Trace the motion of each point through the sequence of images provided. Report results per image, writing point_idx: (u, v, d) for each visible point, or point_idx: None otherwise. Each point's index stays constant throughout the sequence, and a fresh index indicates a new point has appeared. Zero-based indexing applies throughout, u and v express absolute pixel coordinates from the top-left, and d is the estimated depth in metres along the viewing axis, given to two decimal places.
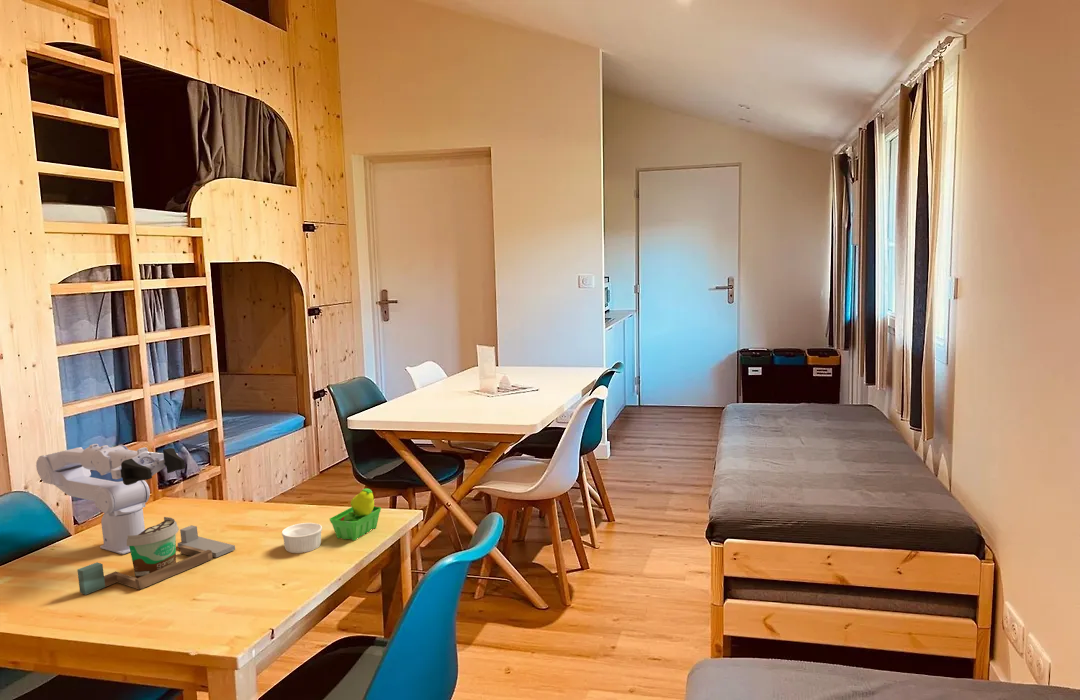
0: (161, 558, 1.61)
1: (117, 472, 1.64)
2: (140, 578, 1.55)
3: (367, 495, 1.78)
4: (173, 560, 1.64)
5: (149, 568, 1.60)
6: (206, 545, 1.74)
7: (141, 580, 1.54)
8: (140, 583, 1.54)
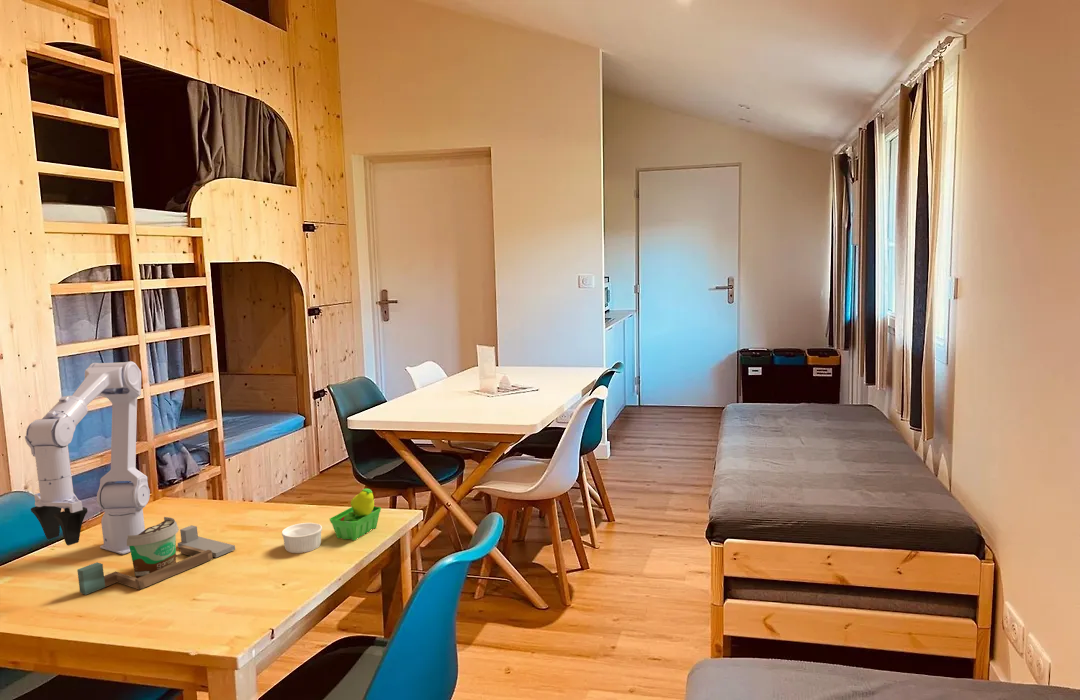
0: (161, 558, 1.61)
1: None
2: (140, 578, 1.55)
3: (367, 495, 1.78)
4: (173, 560, 1.64)
5: (149, 568, 1.60)
6: (206, 545, 1.74)
7: (141, 580, 1.54)
8: (140, 583, 1.54)
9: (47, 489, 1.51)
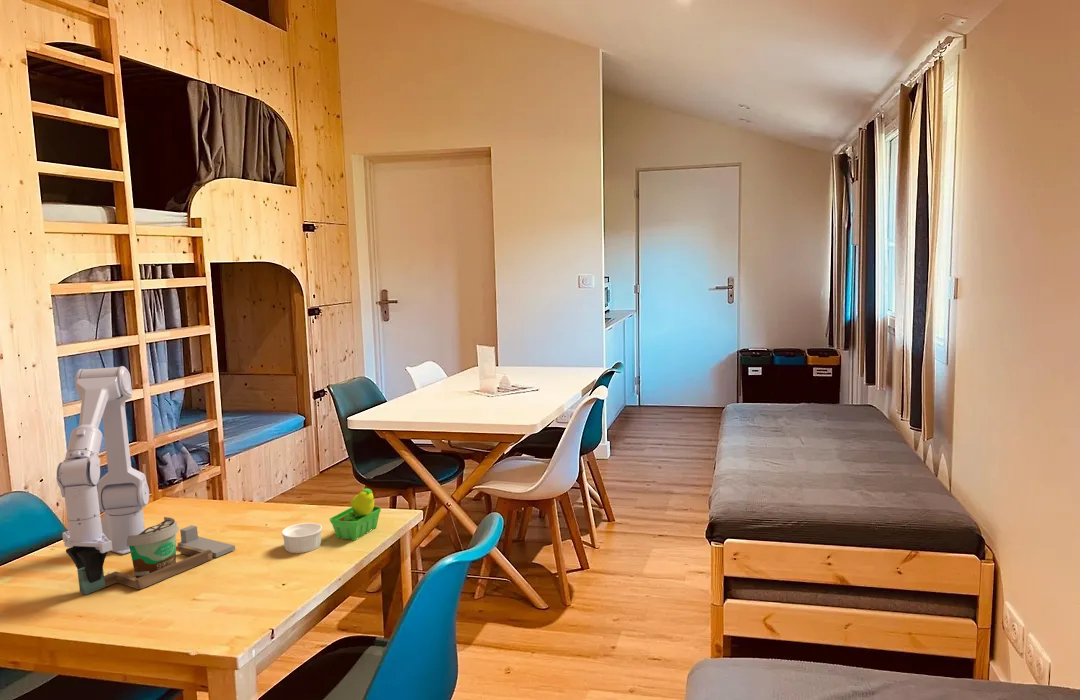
0: (161, 558, 1.61)
1: None
2: (140, 578, 1.55)
3: (367, 495, 1.78)
4: (173, 560, 1.64)
5: (149, 568, 1.60)
6: (206, 545, 1.74)
7: (141, 580, 1.54)
8: (140, 583, 1.54)
9: (77, 529, 1.50)
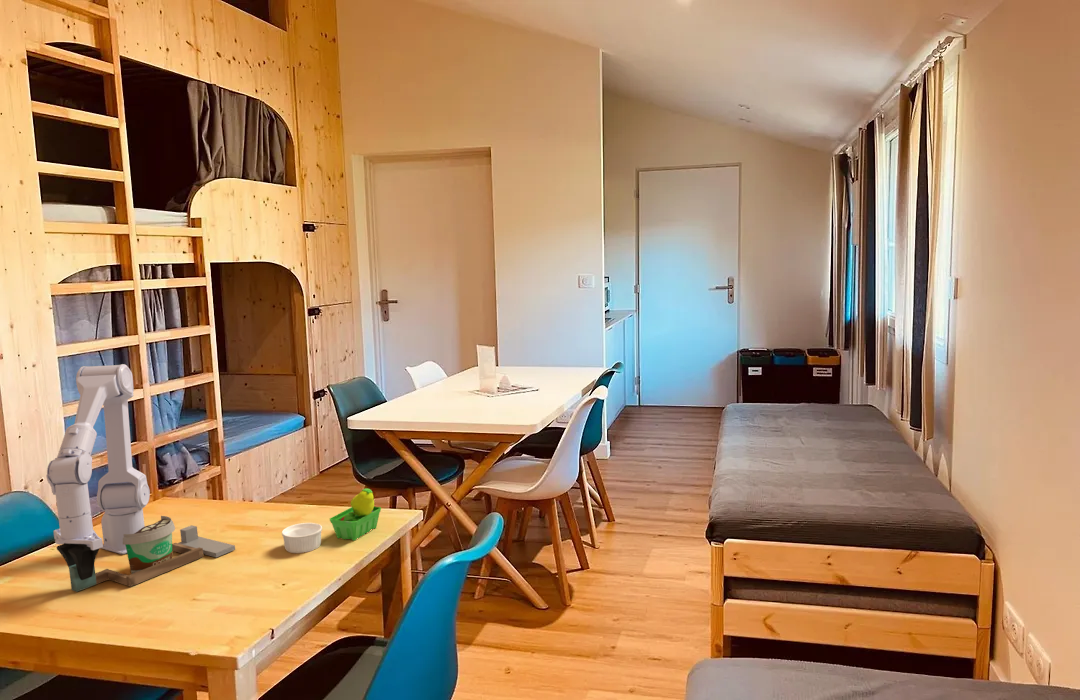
0: (157, 557, 1.62)
1: None
2: (131, 575, 1.56)
3: (367, 495, 1.78)
4: None
5: (145, 567, 1.60)
6: (206, 545, 1.74)
7: (132, 577, 1.56)
8: (131, 580, 1.56)
9: (68, 526, 1.52)
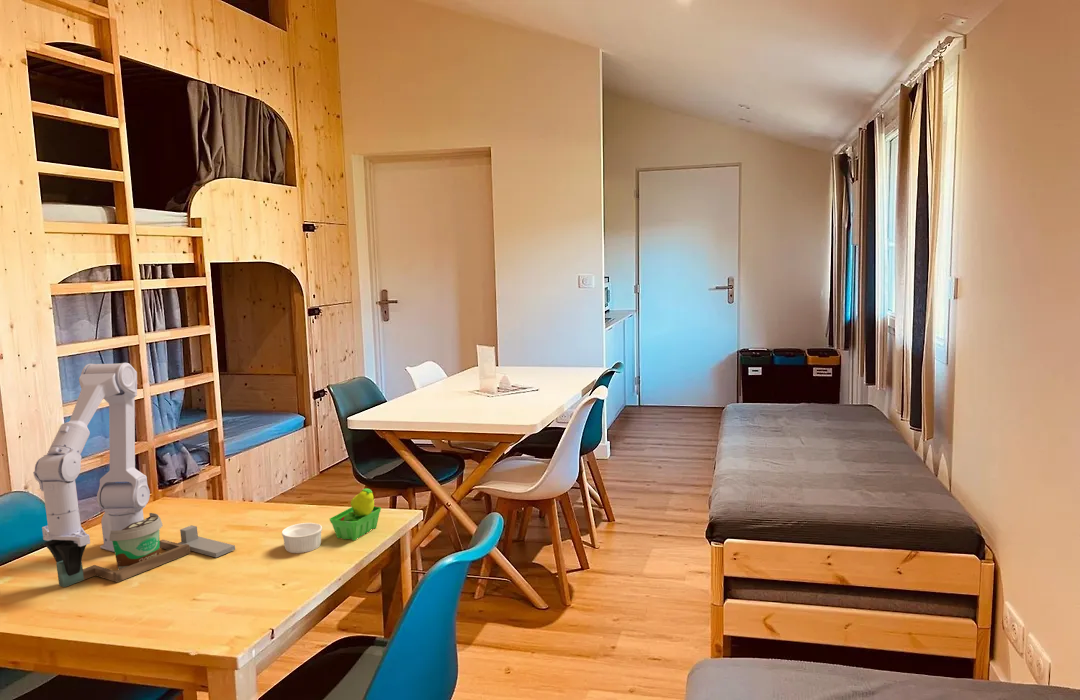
0: (143, 553, 1.64)
1: None
2: (117, 571, 1.59)
3: (367, 495, 1.78)
4: None
5: (132, 563, 1.63)
6: (206, 545, 1.74)
7: (119, 573, 1.58)
8: (118, 576, 1.58)
9: (56, 523, 1.54)
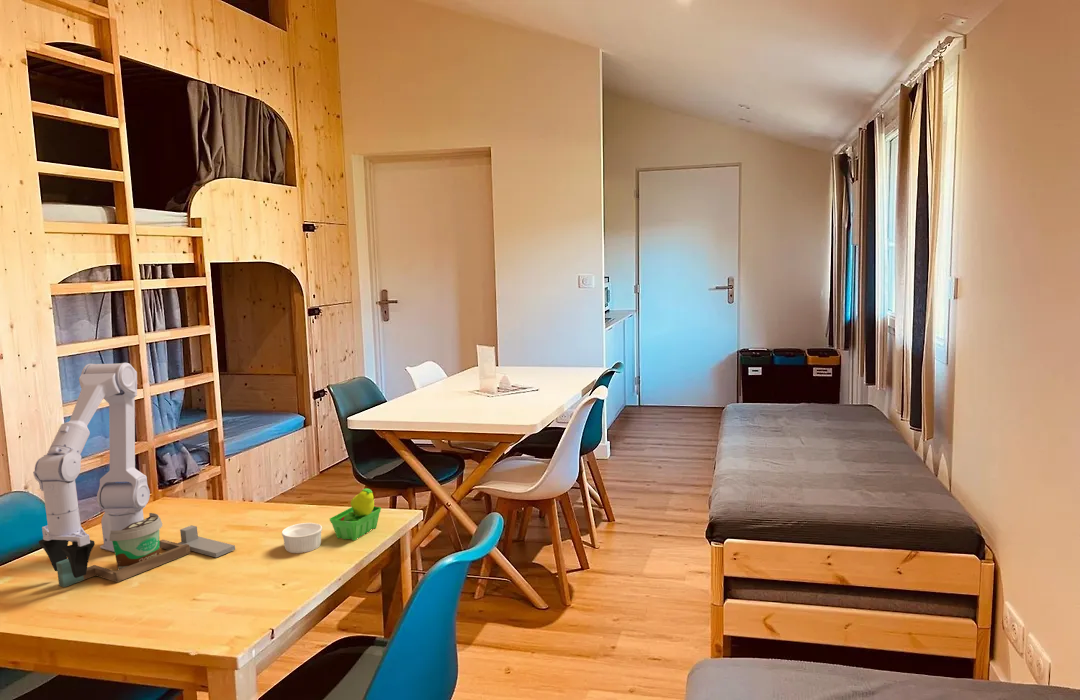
0: (143, 553, 1.64)
1: None
2: (117, 571, 1.59)
3: (367, 495, 1.78)
4: None
5: (132, 563, 1.63)
6: (206, 545, 1.74)
7: (119, 573, 1.58)
8: (118, 576, 1.58)
9: (56, 523, 1.54)
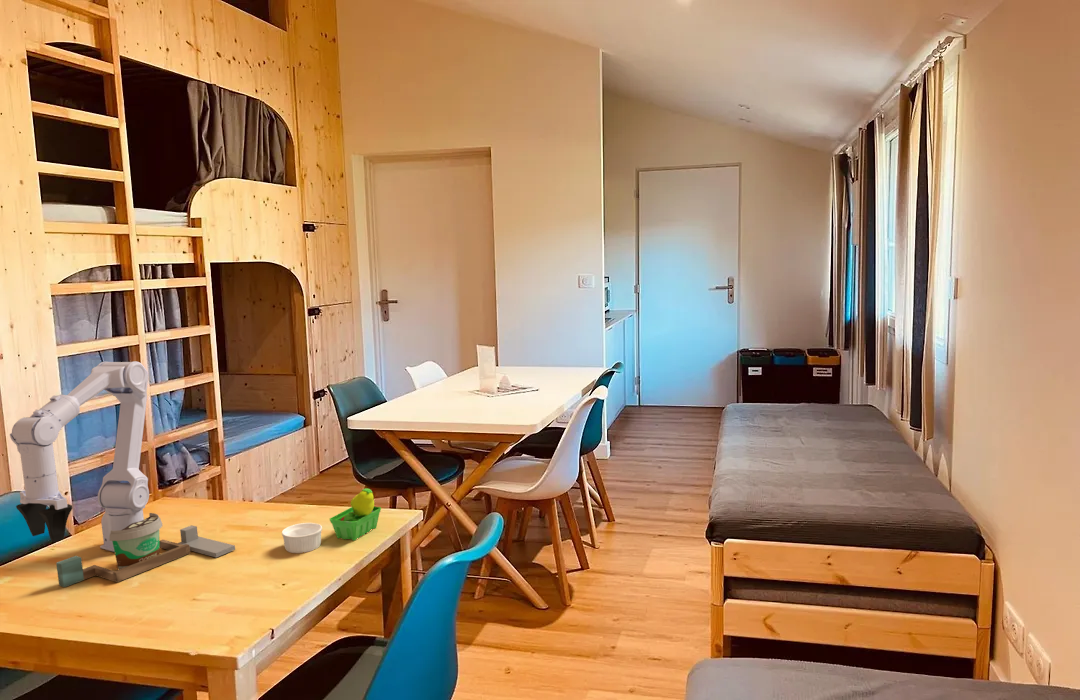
0: (143, 553, 1.64)
1: None
2: (117, 571, 1.59)
3: (367, 495, 1.78)
4: None
5: (132, 563, 1.63)
6: (206, 545, 1.74)
7: (119, 573, 1.58)
8: (118, 576, 1.58)
9: (33, 486, 1.53)
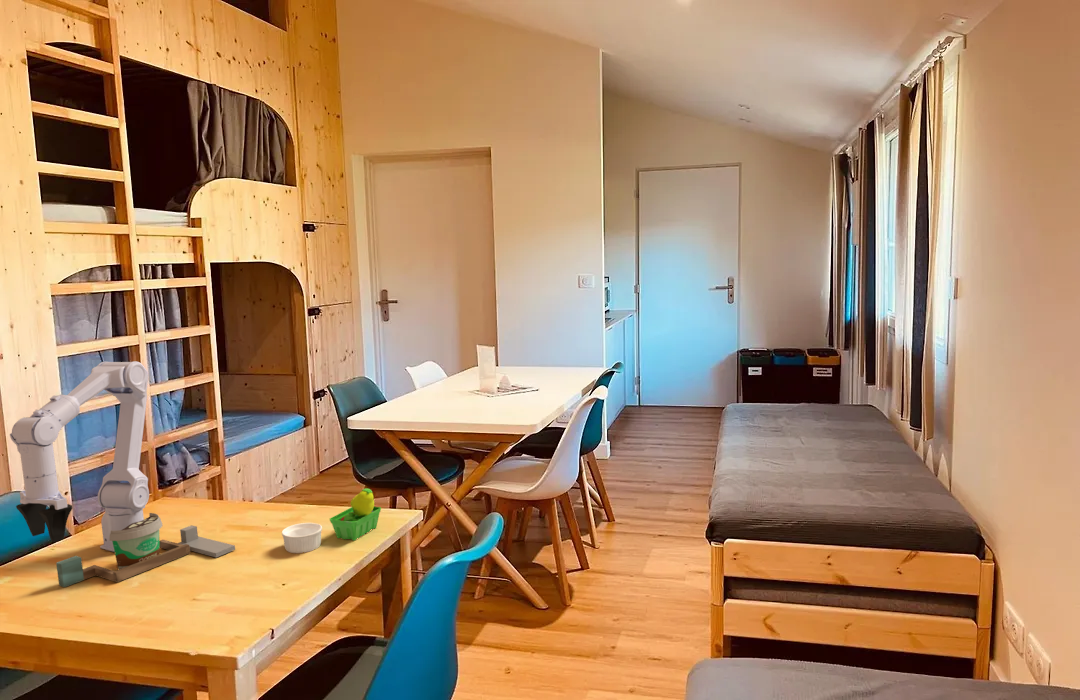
0: (143, 553, 1.64)
1: None
2: (117, 571, 1.59)
3: (367, 495, 1.78)
4: None
5: (132, 563, 1.63)
6: (206, 545, 1.74)
7: (119, 573, 1.58)
8: (118, 576, 1.58)
9: (33, 486, 1.53)
